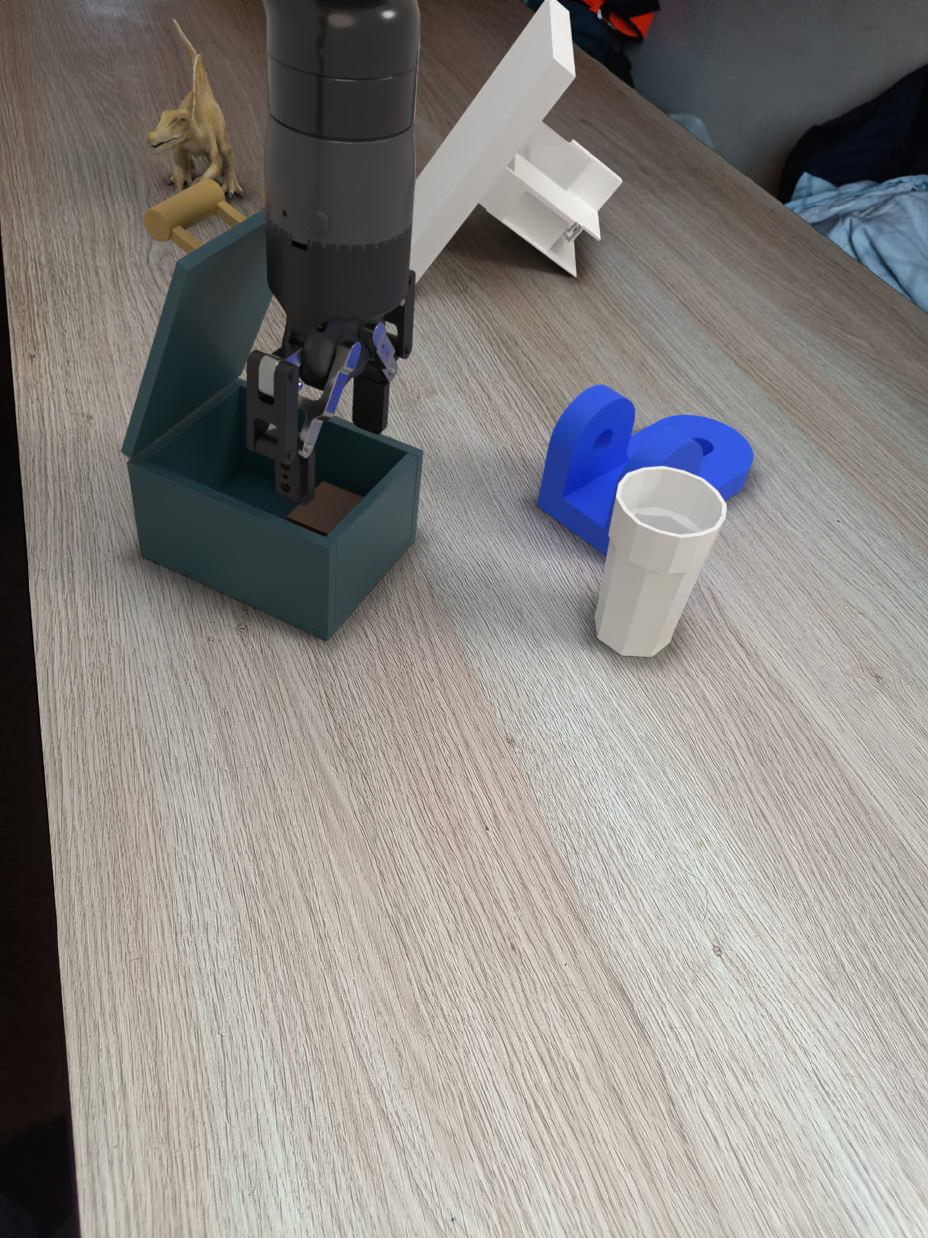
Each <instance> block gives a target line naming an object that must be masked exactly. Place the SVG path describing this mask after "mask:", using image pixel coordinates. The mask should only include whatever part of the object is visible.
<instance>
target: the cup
mask: <svg viewBox="0 0 928 1238" xmlns="http://www.w3.org/2000/svg"><path fill="white" fill-rule="evenodd" d="M727 505H728V504H727V503H726V500H725V501H724V499H723V498H722V496H721V495H720V493H719V492H718V491H717V490H716V489H715V488H714V487H713V486H712V485H710V484H709V483H708V482H707V481H706V480H705V479H703V478H701V477H698V476H696V475H694V474H691V473H689V472H686V471H684V470H679V469H675V468H670V467H665V466H657V467H645V468H641V469H638V470H635V471H632V472H629V473H627V474H626V475H625V476H624V478H623V479H622V480H621V481H620V482H619V484H618V488H617V493H616V498H615V504H614V509H613V514H612V519H611V524H610V529H609V534H608V535H609V538H610V541H609V546H608V551H607V556H605V563H604V568H603V574H602V578H601V584H600V587H599V588H600V589H599V594H598V599H597V604H596V609H595V613H594V624H595V630H596V637H597V639H598V640H599V641H601V642H602V643H603V644H605V645H606V646H608V647H609V648H611V649H612V650H613V651H614V652H616V653H617V654H619V655H620V656H625V657H626V656H627V657H640V658H641V657H644V658H653V657H654V656H656V655H657V654H658V653H659V652H660V651H662V650H663V649H664V648H665V647H666V646H668V645H669V644H670V643H671V641H672V638H673V636H674V632H675V630H676V628H677V626H678V623H679V621H680V618H681V617H682V614H683V613H684V609H685V608H686V605H687V603H688V600H689V599H690V596H691V594H692V591H693V589H694V588H695V585H696V582H697V579H698V577H699V575H700V573H701V571H702V568H703V566H704V565H705V563H706V562H707V561H708V558H709V557H710V555H712V550H713V549H714V546H715V544H716V542H717V540H718V538H719V535H720V532H721V530H722V528H723V526H724V524H725V520H726V518H727V508H728V506H727Z"/></svg>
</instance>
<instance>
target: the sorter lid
mask: <svg viewBox="0 0 928 1238" xmlns="http://www.w3.org/2000/svg"><path fill="white" fill-rule="evenodd" d="M213 215H215V216H217V217H218V218H219V219H220V220H221V221H223V222H224V223H225V224H227V225H228V226H229V227H230V228H229V229H228V230H226V231H224V232H222V233H221V234H219V235H217V236H215V237H214V238H212V239H211V240H209V241H207V242H206V243H202V242H201V241H200V240H199V239H197V238H196V237H195V236H194V235H192V234H191V233H190V232H188V230H189V229H191V228H192V227H194V226H196V225H198V224H199V223H201V222H203V221H204V220H206V219H208V218H210V217H211V216H213ZM142 220H143V224H144V225H143V226H144V228H145V230H146V232H147V234H148V235H149V236H150V237H151V238H152V239H153V240H155V241H157V242H160V243H166V242H168V241H169V240H170V242H172V243H174V244H175V245H176V246H177V247H178V248H180V249H181V250H182V251H184V252H185V253H186V254H185V255H184V256H182V257H181V258H178V259H177V260H176V262H175V265H174V269H173V272H172V276H171V279H170V282H169V286H168V290H167V293H166V296H165V300H164V303H163V305H162V306H163V307H162V309H161V312H160V317H159V320H158V323H157V327H156V330H155V332H154V333H155V334H154V337H153V341H152V344H151V347H150V351H149V354H148V357H147V361H146V363H145V368H144V371H143V374H142V378H141V381H140V383H139V388H138V392H137V395H136V397H135V398H136V399H135V401H134V405H133V409H132V411H131V415H130V419H129V421H128V426H127V428H126V431H125V435H124V438H123V443H122V446H121V449H120V453H122V454H123V455H124V456H126V457H127V458H128V460H130V459H132V458H133V457H134V456H136V455H137V454H138V453H140V452H141V451H142V450H144V449H145V448H146V447H148V446H149V445H150V444H151V443H153V442H154V441H155V440H157V439H158V438H159V437H161V436H162V435H163V434H165V433H166V432H167V431H168V430H170V429H171V428H172V427H174V426H175V425H176V424H178V423H179V422H180V421H182V420H183V419H184V418H185V417H187V416H188V415H189V414H191V413H192V412H193V411H195V410H196V409H197V408H199V407H200V406H201V405H202V404H204V403H205V402H206V401H208V400H209V399H210V398H212V397H213V396H214V395H216V394H217V393H218V392H220V391H221V390H222V389H223V388H225V387H226V386H227V385H229V384H230V383H231V382H233V381H234V380H235V379H237V378H240V377H241V376H242V374H243V372H244V370H245V368H246V365H247V359H248V357H249V355H250V353H251V352H252V349H253V346H254V344H255V342H256V339H257V337H258V334H259V331H260V329H261V327H262V324H263V321H264V319H265V317H266V314H267V312H268V309H269V306H270V304H271V302H272V298H273V297H274V295H273V294H272V292H271V290H270V288H269V286H268V282H267V264H266V229H265V228H266V226H265V207H264V208H262V209H260V210H259V211H257V212H255V213H254V214H253V215H250V216H249V217H246V216H244V215H243V214H242V213H241V212H239V211H238V210H237V209H236V208H234V207H233V206H232V205H230V204H229V203H228V202H227V201H226V196H225V194H224V192H223V190H222V188H221V185H220V184H219V183H218V182H216V181H215V180H214V179H213V180H211V179H204V180H202V181H200V182H198V183H196V184H195V185H193V186H191V187H187V188H185V189H183V191H181V192H180V193H178V194H176V195H174V194H173V195H172V196H170V197H168V198H167V199H165V200H163V201H161V202H159V203H156V204H155V205H153V206H152V207H149V208H148V209H146V210H145V212H144V214H143V219H142Z"/></svg>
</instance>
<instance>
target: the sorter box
mask: <svg viewBox="0 0 928 1238" xmlns="http://www.w3.org/2000/svg"><path fill="white" fill-rule="evenodd" d="M305 419H306V413H305V412H304V411H302V410H300V409H298V426H297V431H298V432H300V433H301V431H302V428H303V425H304V422H305ZM269 425H270V423H268V422H267V431H268V428H269ZM313 450H315V488H316V487H317V486H318V485H319V484H320V483H321V482H322V481H324V482H327V483H329V484H332V485H334V486H336V487H339V488H341V489H344V490H346V491H349V492H351V493H354V494H356V495H359V496H361V497H364V498H363V499H362V500H361V501H360V502H359V503H358V504H357V505H356V506H355V507H354V508H353V509H352V510H351V511H350V512H349V513H348V514H347V515H346V516H345V518H344V519H343V520H342V521H341V522H340V523H339V524H338V525H337V526H336V527H335V528H334V529H333V530H332V531H331V532H330V533H329V534H328V535H327V536H326V537H324V536H321V535H319V534H317V533H314V532H312V531H310V530H307V529H305V528H303V527H300V526H298V525H296V524H293V523H291V522H289V521H287V519H286V517H287V516H288V515H289V514H290V513H291V512H292V511H293V510H294V509H295V508H296V507H297V506H298V505H299V504H298V503H296V502H293V501H291V500H289V499H286V498H284V497H282V496H281V495H280V494H278V493H277V491H276V489H275V481H276V480H275V475H276V474H275V460H274V459H272V458H269V457H267V456H265V455H262V454H260V453H256V452H253V451H251V450H249V449H248V448H247V380H246V379H243V378H240V377H238V378H237V379H235V380H234V381H233V382H231V383H230V384H229V385H227V386H226V387H225V388H223V389H222V390H221V391H220V392H218V393H217V394H216V395H214V396H213V397H212V398H210V399H209V400H208V401H206V402H205V403H204V404H202V405H201V406H200V407H199V408H197V409H196V410H195V411H193V412H192V413H191V414H189V415H188V416H187V417H185V418H184V419H183V420H182V421H180V422H179V423H178V424H176V425H175V426H174V427H172V428H171V429H170V430H168V431H167V432H166V433H165V434H163V435H162V436H161V437H159V438H158V439H157V440H155V441H154V442H153V443H151V444H150V445H149V446H148V447H146V448H145V449H144V450H142V451H141V452H140V453H138V454H137V455H136V456H134V457H133V458H132V459H128V460H127V461H126V467H127V474H128V479H129V480H128V481H129V486H130V492H131V493H130V494H131V499H132V500H131V501H132V507H133V514H134V520H135V526H136V533H137V534H136V535H137V541H138V546H139V553H140V556H141V557H143V558H145V559H147V560H149V561H152V562H154V563H156V564H159V565H161V566H163V567H165V568H167V569H169V570H172V571H173V572H176V573H178V574H180V575H182V576H185V577H187V578H189V579H191V580H194V581H196V582H198V583H200V584H202V585H205V586H206V587H209V588H211V589H213V590H216V591H218V592H220V593H221V594H224V595H226V596H228V597H230V598H233V599H235V600H237V601H239V602H241V603H244V604H246V605H248V606H250V607H253V608H254V609H256V610H259V611H261V612H263V613H265V614H268V615H270V616H272V617H274V618H277V619H279V620H281V621H283V622H285V623H287V624H289V625H292V626H294V627H296V628H298V629H301V630H302V631H304V632H307V633H310V634H312V635H314V636H316V637H318V638H319V639H320V638H321V639H323V640H325V641H329V640H330V639H331V638H332V637H333V635H335V633H336V632H337V631H338V630H339V629H340V627H341V626H342V625H344V622H346V620H347V619H348V618H349V617H350V616H351V615H352V614H353V612H354V611H355V610H356V608H358V607H359V606H360V604H361V603H362V602H363V601H364V600H365V598H366V597H368V595H369V594H370V593H371V592H372V591H373V590H374V588H375V587H376V586H377V584H378V583H379V582H380V581H382V579H383V578H384V577H385V576H386V574H387V573H388V572H389V571H390V569H392V567H394V565H395V564H396V563H397V562H398V561H399V560H400V558H401V557H402V556H403V555H404V554H405V553H406V551H407V550H408V549H409V548H410V547H411V545H412V544H413V543H414V542H415V541H416V536H417V535H416V534H417V526H418V516H419V515H418V513H419V504H420V492H421V483H422V474H423V473H422V471H423V463H424V462H423V461H424V449H421V448H419V447H416V446H413V445H410V444H408V443H406V442H404V441H401V440H398V439H396V438H393V437H391V436H388V435H385V434H383V433H380V434H378V435H377V434H373V433H371V432H368V431H366V430H363V429H361V428H358V427H357V426H355V425H354V423H353V421H350V420H347V419H346V418H345V419H344V418H342V417H340V416H337V415H335V414H334V416H333V417H332V418H331V419H329V420H325V421H324V422H323V423H322V426H321V429H320V431H319V434H318V437H317V440H316V443H315V446H314V448H313Z"/></svg>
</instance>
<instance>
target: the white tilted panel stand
mask: <svg viewBox="0 0 928 1238" xmlns="http://www.w3.org/2000/svg"><path fill="white" fill-rule="evenodd" d="M570 18H571V17H570V11H569V10H568V9H567V8H566V7H565V6H564V5H562V3H560V2H559V1H558V0H544V1H543V2H542V3H541V5H540V6H539V8H538V9H537V11H536V12H534V15H533V16H532V18H530V20H529V22H528V23H527V25H526V26H525V27H524V28H523V30H522V31H521V33H520V34H519V36H518V37H517V38H516V40H515V41H514V43H513V44H512V45H511V47H510V48H509V49H508V51H507V52H506V54H505V55H504V57H503V58H502V60H501V61H500V62H499V64H498V65H497V67H495V69H494V71H493V72H492V74H491V75H490V76H489V77H488V79H487V81H485V83H484V84H483V86H482V87H481V89H480V90H479V92H478V93H477V94H476V96H475V97H474V98H473V100H472V101H471V103H470V104H469V105H468V107H467V108H466V110H465V111H464V112H463V114H462V115H461V117H460V118H459V119H458V121H457V122H456V123H455V125H454V126H453V128H452V129H451V130H450V132H449V133H448V135H447V136H446V138H445V139H444V140H443V142H442V143H441V145H439V147H438V149H437V150H436V152H435V153H434V154H433V155H432V157H431V159H430V160H429V161H428V162H427V164H426V165H425V167H424V168H423V169H422V171H421V172H420V174H419V175H418V177H416V183H415V196H414V210H413V224H412V238H411V252H410V265H409V269H410V270H413V271H415V273H416V281H415V285H417V283H418V282H419V281H420V280H421V278H422V277H423V276H424V274H425V273H426V271H427V270H428V269H429V267H430V266H431V265H433V264H432V263H433V262H434V261H435V260H436V258H437V257H439V255H440V254H441V252H442V251H443V250H444V248H445V247H446V246H447V244H448V243H449V242H450V241H451V240H452V238H453V237H454V235H455V234H456V233H457V232H458V230H459V229H460V227H461V226H462V225H463V224H464V222H465V221H466V220H467V218H469V216H470V215H471V214H472V212H473V211H474V209H475V208H476V207H477V205H480V206H482V207H483V208H484V209H485V211H486V212H487V213H489V214H490V215H492V217H494V218H495V219H497V220H498V221H500V222H501V223H502V224H503V225H505V226H506V227H508V229H510V230H511V231H513V232H514V233H516V234H517V235H518V236H519V237H521V238H522V239H524V240H525V241H526V242H527V243H528V244H530V245H531V246H532V247H534V248H535V249H537V250H538V251H539V252H540V253H542V254H543V255H545V256H546V257H547V258H549V259H550V260H551V261H552V262H554V263H555V264H556V265H558V266H559V267H560V268H562V269H563V270H565V272H567V273H569V274H570V275H572V277H574V278H575V279H576V278H577V276H578V275H577V266H576V265H577V264H576V252H575V240H576V239H577V237H579V235H581V233H582V232H583V231H585V232H586V233H587V234H589V235H590V236H591V237H593V238H594V239H595V240H596V241H598V242H600V241H601V239H602V237H601V230H600V221H599V213H598V212H599V211H600V210H601V208H602V207H603V206H604V205H605V203H606V202H608V200H609V199H610V198H611V196H612V195H613V194H614V193H615V192H616V191H617V189H618V188H620V187H621V185H622V184H623V179H622V178H621V177H620V176H619V175H618V174H617V173H615V172H614V171H613V170H612V169H611V168H609V167H608V166H606V164H604V163H603V162H602V161H600V160H599V159H598V157H595V155H593V154H592V153H591V152H590V151H588V149H586V148H585V147H583V146H582V145H581V144H580V143H579V142H577V141H576V140H575V139H571V140H570V142H569V141H567V140H566V139H565V138H563V137H562V136H561V135H559V134H558V133H557V132H556V131H555V130H554V129H552V128H551V127H550V126H549V125H547V123H545V122H544V119H545V117H546V116H547V115H548V114H549V113H550V111H551V110H552V109H553V107H554V106H555V105H556V104H557V102H558V101H559V100H560V98H561V97H562V96H563V94H564V93H565V92H566V90H567V89H568V88H569V86H570V85H571V84H572V82H573V81H574V80H575V79H576V77H577V76H576V67H575V56H574V46H573V38H572V27H571V19H570Z"/></svg>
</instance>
